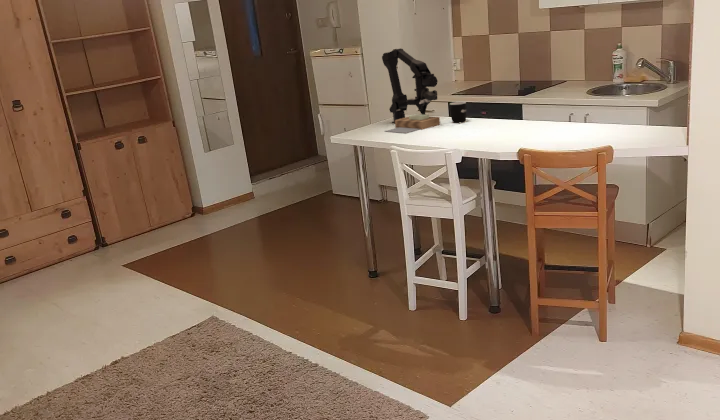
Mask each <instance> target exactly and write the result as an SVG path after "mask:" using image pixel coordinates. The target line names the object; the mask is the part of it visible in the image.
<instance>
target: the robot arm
mask: <svg viewBox="0 0 720 420" xmlns="http://www.w3.org/2000/svg"><path fill="white" fill-rule="evenodd" d="M381 60H382V63H383V65H384V67H385V68H386V69H387V71H388V77H389V80H390V85H391V91H392V93H393V95H392V97H391V105H390V107H389V113H392V117H393V118H392V119H393V121H391V123H392V124H395V120H398V119H402V118H405V117H406V114H405V111H407V110H408V106H416V107H417V109H418V110H419V112H420V114H426V111H427V107H428V105H429V104H430V103H431V102H432V101H436V100H438V90H436V89H435V90H432V91H430V90H429V88H435V87H437V85H438V82H439V81H438V79H437V77H436V76H435V73H431V70H430V69H429V67H428V65H427V63H426V62H424V61H422V60H419V59H416V58H414V57H413V56H412V55H411V54H409V53H407V52H406V51H405V50H404V49H403V48H402V47H401V48H394V49H393V50H392V51H388V52H384V53H383V54H382V56H381ZM399 60H400V61H401V62H403V63H404V64H406V65H407V66H408V67H409V68H410V69H409V70H410V71H411V72H412V73H413V76H412V77H411V78H412V79H414V81H415V88H414V92H415V94H416V96H414V98H408V97H407V96H408V95H407V94H404V93H403V90H402V86H401V80H400V77H399V72H398V68H397V67H398V63H399Z"/></svg>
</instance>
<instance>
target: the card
mask: <svg viewBox="0 0 720 420" xmlns="http://www.w3.org/2000/svg"><path fill="white" fill-rule="evenodd" d="M408 117H409V119H412V120H423V119H427V118H429V117H430V116H429V113H425V114H421V113H414V114H410V115H408Z"/></svg>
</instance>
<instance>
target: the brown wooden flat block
mask: <svg viewBox="0 0 720 420" xmlns="http://www.w3.org/2000/svg"><path fill="white" fill-rule="evenodd" d="M440 122H441V119H440V117H439V116H429V118H427V119H423V120H412V119H409V116H407V117H406V116H405V118H402V119H398V120H395V123H394V125H395V126H394V128H398V127H403V128H416V129H420V130H425V129H429V128H433V127H436V126H439V125H441V123H440Z"/></svg>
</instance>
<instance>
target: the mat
mask: <svg viewBox="0 0 720 420" xmlns="http://www.w3.org/2000/svg"><path fill="white" fill-rule="evenodd" d="M420 130H421V129H416V128H403V127H398V128H396V127H394V128H392V129H391V128H390V129H387V130H384V132H385V133H396V134H409V133H413V132H417V131H420Z"/></svg>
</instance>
